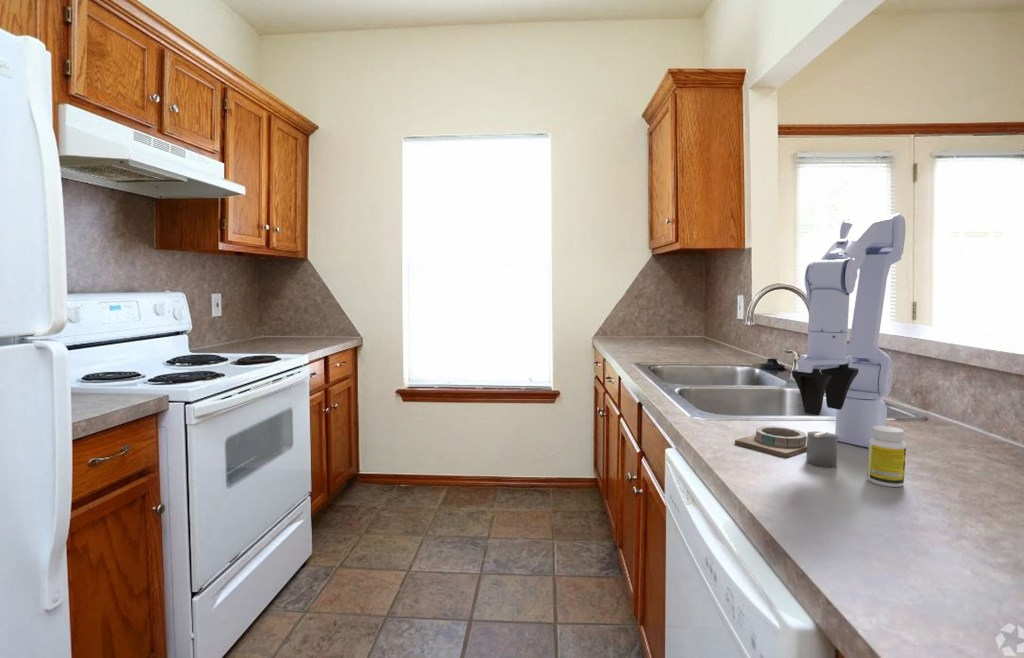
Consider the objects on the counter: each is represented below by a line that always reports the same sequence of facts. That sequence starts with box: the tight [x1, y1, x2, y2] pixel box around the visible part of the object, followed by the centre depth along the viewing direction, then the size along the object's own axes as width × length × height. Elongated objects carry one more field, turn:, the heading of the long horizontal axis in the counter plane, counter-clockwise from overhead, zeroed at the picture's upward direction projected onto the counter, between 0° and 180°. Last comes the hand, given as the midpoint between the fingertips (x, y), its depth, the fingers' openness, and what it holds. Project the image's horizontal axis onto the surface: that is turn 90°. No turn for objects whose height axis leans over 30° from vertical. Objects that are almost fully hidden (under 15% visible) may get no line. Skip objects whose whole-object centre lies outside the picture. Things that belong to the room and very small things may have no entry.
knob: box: [805, 430, 839, 469], centre depth 92 cm, size 4×4×5 cm
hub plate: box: [734, 425, 807, 458], centre depth 103 cm, size 14×10×2 cm
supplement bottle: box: [866, 425, 907, 488], centre depth 83 cm, size 5×5×8 cm
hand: (823, 411), depth 91 cm, fingers open, 7 cm apart
